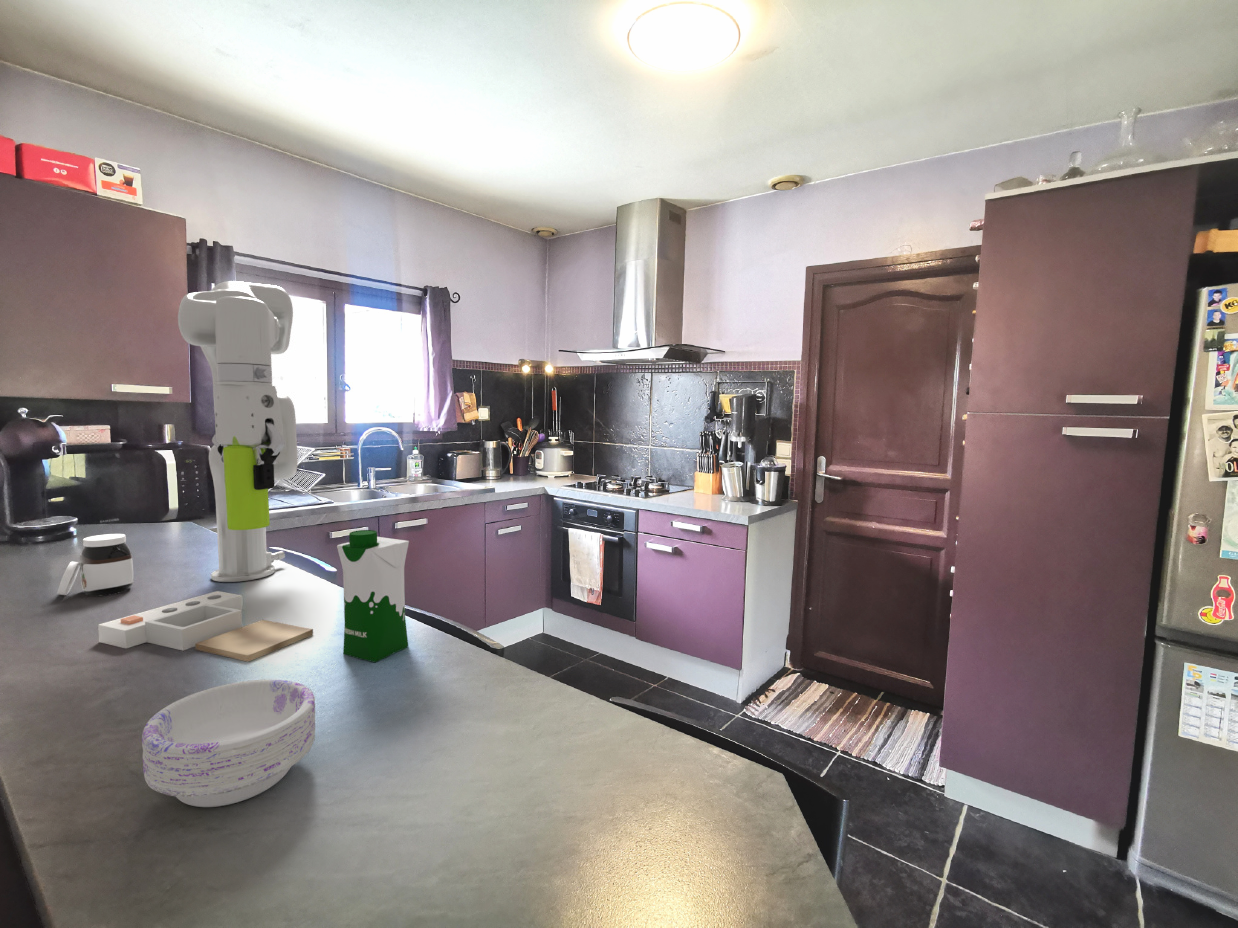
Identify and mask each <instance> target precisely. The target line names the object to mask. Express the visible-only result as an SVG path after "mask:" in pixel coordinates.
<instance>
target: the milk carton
mask: <svg viewBox="0 0 1238 928" xmlns="http://www.w3.org/2000/svg"><path fill="white" fill-rule="evenodd" d="M348 535H349V536H348V537H349V539H348V540H349V542H344V543H341V544H340V543H339V544H338V545H337V546H336V548H337V553H338V556H339V559H340V564H341V568H342V578H343V610H344V611H343V614H344V615H343V617H344V627H343V628H344V631H343V652H342V653H343V655H345V656H348V657H352V658H357V659H360V660H364V661H368V662H371V663H376V662H379V661H381V660H383V659H385V658H387V657H389V656H391V655H393V654H396V653H398V652H399V651H402V650H405V649H406V648H408V647H409V640H408V631H407V623H406V602H405V601H406V599H405V595H406V594H405V563H406V558H407V552H408V548H409V543H410V540H405V539H396V538H389V537H383V536H382V537H381V536H378V531H377V530H374V529H361V530H360V529H359V530H354V531H350V532H349V534H348Z"/></svg>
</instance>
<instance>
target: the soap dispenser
mask: <svg viewBox="0 0 1238 928" xmlns="http://www.w3.org/2000/svg"><path fill="white" fill-rule="evenodd" d="M232 445H233V446H227V447H224V448H223V455H224V473H225V491H226V508H227V526H228V529H230V530H250V529H258V528H263V527H266V528H267V527H269V526H270V525H271V524H270V520H271V519H270V509H269V508H270V504H269V502H270V500H269V489H262V490H256V489H255V488H254V474H253V465H257V463H256V461H255V457H254V454H253V449H252V448H251V447H246V446H241V445H240V444H239V442H238V440H237V439H236V437H235V436H234V437H233V440H232ZM261 452H262V455H263V453H264V452H265V450H261Z"/></svg>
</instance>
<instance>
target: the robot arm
mask: <svg viewBox="0 0 1238 928" xmlns="http://www.w3.org/2000/svg"><path fill="white" fill-rule="evenodd" d="M293 308H294V307H293V302H292V299H291V296H290V295H289V293H288V292H287V291H286V290H285V289H284V288H283V287H280V286H277V285H273V284H272V285H271V284H262V283H253V282H244V281H236V280H233V281H232V280H229V281H228V280H227V281H223V282H220V283H217V284H216V285H215V286H214V287H213V288H212V289H211V290H208V291H198V292H197V291H195V292H190V293H186V294H185V295H184V296H183V297H182V299H181V300H180V304H179V307H178V314H177V325H178V329H179V331H180V335H181V337H182V339H183V340H184V341H185V342H186V343H187V344H190V345H191V346H196V347H200V348H201V351H202V353H203V355H204V357H205V358H206V360H207V363H208V365H209V367H210V370H211V375H212V389H213V390H212V391H213V392H212V394H213V410H214V411H213V413H214V427H215V432H214V435H213V437H212V439H211V442H212V444H213V445H212V447H210V449H209V452H208V463H209V468H210V473H211V476H212V480H213V481H212V482H213V487H214V499H215V515H216V534H217V536H216V537H217V553H218V554H217V555H218V556H217V557H218V558H217V559H218V569H216V570H214V571H212V572H211V573H210V579H211V580H212V581H215V582H220V583H221V582H222V583H237V582H238V583H239V582H247V581H253V580H258V579H263V578H265V577H268V576H271V575H272V574H274V573H275V571H276V568H275V567H276V566H275V565H273V564H272V563H274V562H275V561H279V560H283V559H284V558H285V557H286V554H285V551H284V550H280V551H277V552H273V553H272V552H270V551H267V530H266V529H267V527H263V528H258V529H250V530H230V529H228V526H227V508H226V491H225V473H224V455H223V448H224V447H227V446H233V445H232V440H233V437H234V436H235V437H236V439H237V440H238V442H239V444H240V445H241V446H246V447H251V448H252V449H253V454H254V457H255V461H256V463H257V465H253V474H254V488H255V489H256V490H262V489H268V490H269V489H274V488H275V481H277V480H278V481H279V480H287V479H290V478H293V477H294V476H295V474H296V473H297V470H298V463H299V462H298V461H299V460H298V443H297V442H298V441H297V439H298V438H297V437H298V436H297V421H296V420H297V419H296V417H297V416H296V410H295V409H296V408H295V405H294V402H293V400H292V398H290V396H288V395H286V394H283V393H278V392H277V389H276V385H273V372H272V371H273V369H272V367H273V366H272V355H281V354H284V353H285V352H286V351H287V350H288V348H289V346H290V340H291V332H292V326H293V317H294V309H293ZM261 450H265V452H264V453H263V455H262V452H261Z"/></svg>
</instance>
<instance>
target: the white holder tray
mask: <svg viewBox="0 0 1238 928" xmlns="http://www.w3.org/2000/svg"><path fill="white" fill-rule="evenodd" d="M243 600H244V599H243V594H235V593H232V592H231V593H230V592H225V591H220V590H217V591H212V592H209V593H206V594H205V593H204V594H202V595H198V596H195V597H191V598H188V599H184V600H181V601H180V600H179V601H178V602H174V603H170V604H166V605H163V606H160V607H157V608H151V609H149V610H145V611H143V612H142V611H141V612H138V613H134V614H131V615H127V616H124V617H120V618H117V619H113V620H110V621H105V622H103V623H99V624H98V630H97V631H98V642H99V643H102V644H107V645H110V646H114V647H117V648H122V649H130V648H132V647H135V646H139V645H141V644H144V643H149V644H153V645H157V646H161V647H165V648H171V649H175V650H179V651H183V652H184V651H186V650H189V649H192V648H195V644H196V643H199V642H201V641H204V640H207V639H210V638H213V637H216V636H218V635H221V634H224V633H227V632H230V631H233V630H235V629H238V628H241V627H243V617H242V616H243V615H242V612H243V611H244V605H243V602H244V601H243Z"/></svg>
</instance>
